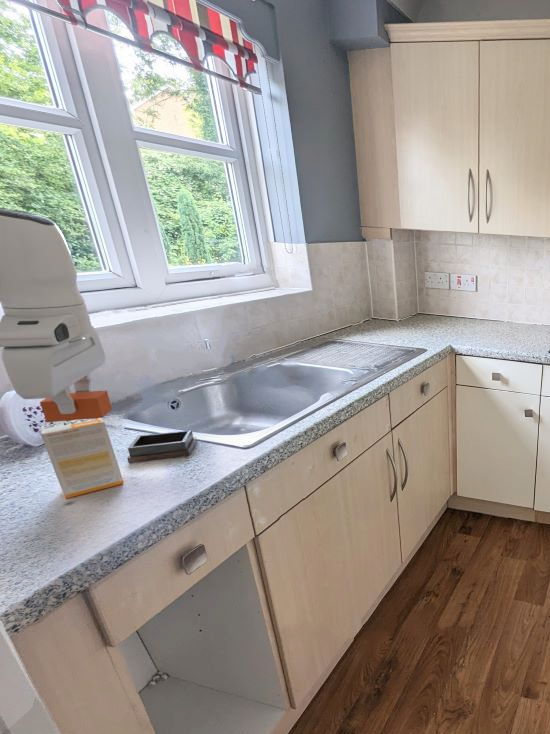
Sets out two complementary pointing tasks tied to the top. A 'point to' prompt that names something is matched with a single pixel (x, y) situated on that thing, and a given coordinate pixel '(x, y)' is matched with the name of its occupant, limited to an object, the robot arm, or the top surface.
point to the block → (79, 407)
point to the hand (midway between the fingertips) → (77, 406)
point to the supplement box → (81, 455)
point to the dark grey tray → (161, 446)
